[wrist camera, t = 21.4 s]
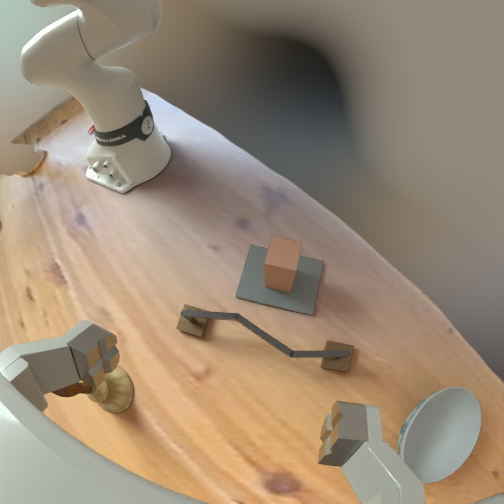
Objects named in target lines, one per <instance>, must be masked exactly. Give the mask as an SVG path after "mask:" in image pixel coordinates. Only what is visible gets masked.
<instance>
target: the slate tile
mask: <svg viewBox="0 0 504 504" xmlns="http://www.w3.org/2000/svg"><path fill="white" fill-rule="evenodd" d="M267 252H268V249H267V248H263V247H259V246H254V245H251V247H250V251H249V254H248V257H247V260H246V263H245V267H244V270H243V273H242V276H241V280H240V283H239V286H238V289H237V293H236V297H237V298H241V299H245V300H248V301H252V302H256V303H260V304H265V305H269V306H273V307H277V308H281V309H285V310H290V311H294V312H298V313H303V314H307V315H313V312H314V307H315V302H316V297H317V292H318V287H319V282H320V277H321V271H322V266H323V261H321V260H316V259H312V258H307V257H303V256H299V261H298V265H297V270H296V274H295V277H294V281H293V285H292V289H291V293H289V292H284V291H280V290H276V289H271V288H267V287H265V266H264V263H265V260H266V256H267Z"/></svg>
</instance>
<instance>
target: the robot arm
mask: <svg viewBox="0 0 504 504" xmlns="http://www.w3.org/2000/svg"><path fill="white" fill-rule="evenodd" d="M30 1H31V3H33V4H34V5H37V6H40V7H52V6H58V5H70V6H73V7H76V8H77V9H78V10H77V11H75V12H73V13H71V14H69V15H67V16H65V17H63V18H61V19H60V20H58V21H56V22H54V23H53V24H51V25H49V26H48V27H46V28H44V29H43V30H42V31H41V32H39V33H38V34H37V35H36V36H35V37H34V38H33V39H32V40H31V41H29V42H28V44H26V45H25V46H24V48H23V50H22V53H21V58H20V68H21V72H22V74H23V76H24V77H25V78H26V80H28V81H29V82H30V83H32V84H35V85H39V86H40V85H46V86H53V87H58V88H60V89H62V90H64V91H67V92H68V93H70V94H71V95H73V96H74V97H75V98H76V99H77V100H78V101H79V102H80V103H81V105H82V106H83V108H84V109H85V111H86V112H87V114H88V116H89V117H90V119H91V121H92V123H93V124H94V125H93V126H92V127H91V128H90V130H91V129H92V128H93V129H92V130H91V132H90V134H92V133H93V131H95V139H94V141H93V143H92V144H91V146H90V148H89V150H88V153H87V160H88V162H89V166H88V169H87V172H86V177H87V179H88V180H91V181H93V182H95V183H98V184H100V185H103V186H105V187H107V188H110V189H112V190H115V191H117V192H119V193H125V192H127V191H129V190H130V189H132V188H133V187H134V186H136V185H138V184H140V183H143V182H146V181H148V180H150V179H151V178H153V177H155V176H156V175H157V174H158V173H160V172H161V171H162V170H163V169H164V168H165V166H166V165H167V163H168V162H169V160H170V157H171V149H170V146H169V145H168V144H167V143H166V141H165V140H164V138H163V135H162V133H161V132H159V130H158V128H157V126H156V124H155V122H154V121H153V116H152V113H151V110H150V107H149V105H148V103H147V101H146V100H144V98H143V95H142V92H141V89H140V86H139V83H138V81H137V78H136V75H135V74H134V73H133V72H132V71H130V70H129V69H127V68H124V67H106V66H102V65H100V64H98V63H97V62H95V59H97V58H99V57H101V56H103V55H106V54H108V53H110V52H112V51H115V50H117V49H120V48H122V47H125V46H127V45H130V44H132V43H134V42H135V41H137V40H139V39H141V38H143V37H145V36H147V35H148V34H150V33H152V32H154V31H155V29H156V28H157V26H158V25H159V23H160V20H161V16H162V5H161V2H160V0H30ZM90 130H89V131H90ZM116 344H117V338H116V335H114V334H113V333H111V332H109V331H107V330H105V329H103V328H101V327H99V326H97V325H95V324H93V323H91V322H89V321H87V320H83V321H81V322H80V323H78V324H77V325H76V326H74V327H73V328H72V329H70V330H69V331H68V332H67V333H65V334H64V335H63V336H61V337H60V338H59V339H58V338H50V339H45V340H40V341H34V342H29V343H23V344H17V345H11V346H9V347H8V348H7V349H5V350H4V351H3V352H1V353H0V504H210V503H207V502H204V501H201V500H198V499H195V498H192V497H189V496H186V495H183V494H181V493H178V492H176V491H173V490H171V489H168V488H166V487H163V486H161V485H159V484H156V483H154V482H152V481H150V480H148V479H145V478H143V477H141V476H139V475H137V474H135V473H133V472H131V471H129V470H127V469H126V468H124V467H122V466H120V465H118V464H116V463H115V462H113V461H111V460H109V459H108V458H106V457H104V456H103V455H101V454H99V453H98V452H96V451H94V450H93V449H91V448H90V447H88V446H87V445H85V444H84V443H82V442H81V441H79V440H78V439H76V438H75V437H74V436H72V435H71V434H69V433H68V432H67V431H65V430H64V429H63V428H61V427H60V426H59V425H57V424H56V423H55V422H54V421H52V420H51V419H50V418H49V417H47V416H46V415H45V414H44V413H43V411H44V410H45V409H46V408H47V407H48V403H47V401H46V399H45V397H44V394H47V393H50V392H52V391H55V390H58V389H61V388H63V387H66V386H69V385H71V384H74V383H77V382H79V381H80V380H81V381H83V382H85V383H87V384H88V385H90V386H92V387H94V388H95V389H97V388H98V387H99V386H100V385H101V384H102V383H103V382H104V381H105V379H106V374H108V373H111V372H113V371H114V370H115V369H116V367H117V365H118V363H119V357H120V355H119V351H118V349H117V348H116V346H115V345H116ZM320 439H321V440H322V442H323V444H322V446H321V447H320V449H319V459H318V464H322V465H330V466H339V467H341V469H342V471H343V473H344V475H345V476H346V478H347V480H348V482H349V484H350V486H351V487H352V489H353V491H354V493H355V495H356V496H357V498H358V500H359V502H360V504H425V496H424V486H423V484H422V482H421V481H420V480H419V479H418V478H417V477H416V475H415V474H414V473H413V472H412V471H411V470H410V468H409V467H408V466H407V465H406V464H405V463H404V461H403V460H402V459H401V458H400V457H399V456H398V454H397V453H396V452H395V451H394V450H393V449H392V447H391V446H390V445H389V444H388V443H387V442H383V433H382V425H381V417H380V410H379V407H378V405H367V404H359V403H350V402H342V401H336V402H335V403H334V405H333V406H332V413H331V414H328V415H327V417H326V419H325V420H324V423H323V426H322V430H321V437H320ZM471 504H504V493H499V494H496V495H493V496H490V497H488V498H485V499H483V500H480V501H477V502H474V503H471Z"/></svg>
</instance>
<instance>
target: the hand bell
mask: <svg viewBox="0 0 504 504" xmlns="http://www.w3.org/2000/svg"><path fill="white" fill-rule="evenodd" d="M52 393H54V394H56V395H58V396H61V397H72V396H75V395H77V394H79V393H84V394H86V395H87V396H88V398H89V399H90V400H92V401H94V402H97V403H98V404H99V405H100V406H101V407H102V408H103V409H105V410H106V411H109V412H112V413H120V412H122V411H124V410H126V409H127V408H128V407H129V406H130V404H131V403H132V400H133V395H134V389H133V384H132V381H131V379H130V377H129V376H128V374H127V373H126V372H125V371H124V370H123V369H122V368H120V367H119V366H117V367H116V369H115V370H114V371H113V372H111V373H108V374H106V379H105V381H104V382H103V383H102V384H101V385H100V386H99V387H98V388H97V389H95V388H94V387H92V386H90V385H88V384H87V383H85V382H83V383H79V382H77V383H74V384H71V385H69V386H66V387H63V388H61V389H58V390H55V391H52Z"/></svg>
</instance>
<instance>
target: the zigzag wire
mask: <svg viewBox="0 0 504 504" xmlns="http://www.w3.org/2000/svg"><path fill="white" fill-rule="evenodd" d="M209 319H219V320H235V321H238V322H239V323H241V324H242V325H243V326H245V327H246V328H248V329H249V330H251V331H252V332H253V333H255V334H256V335H258V336H259V337H261V338H262V339H264V340H265V341H267V342H268V343H270V344H271V345H273V346H274V347H276V348H277V349H279V350H280V351H282V352H283V353H285V354H286V355H288V356H289V357H291V358H320V357H323V359H322V364H321V368H326V369H331V370H337V371H342V372H348V371H349V366H350V361H351V356H352V351H353V345H348V344H343V343H337V342H332V341H327V342H326V346H325V351H293V350H291V349H290V348H288V347H287V346H285V345H284V344H282V343H281V342H279V341H278V340H276V339H275V338H273V337H272V336H270V335H269V334H267V333H266V332H264V331H263V330H261V329H260V328H258V327H257V326H255V325H254V324H253V323H251V322H250V321H248V320H247V319H245V318H244V317H243V316H241V315H240V314H239V313H222V312H209V311H206V310H202V309H199V308H196V307H192V306H189V305H186V304H185V305H184V308H183V310H182V312H181V317H180V320H179V323H178V326H177V329H178V330H180V331H183V332H186V333H189V334H192V335H196V336H199V337H202V338H203V335H204V332H205V329H206V326H207V323H208V320H209Z"/></svg>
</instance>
